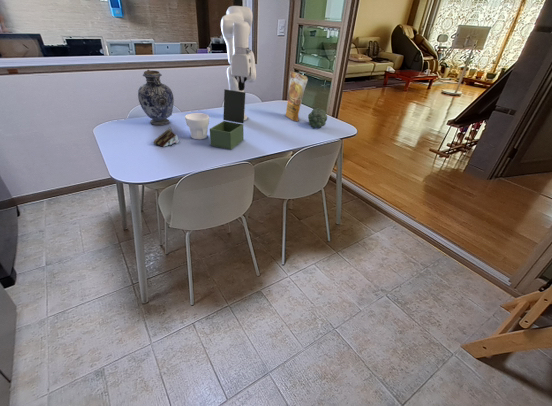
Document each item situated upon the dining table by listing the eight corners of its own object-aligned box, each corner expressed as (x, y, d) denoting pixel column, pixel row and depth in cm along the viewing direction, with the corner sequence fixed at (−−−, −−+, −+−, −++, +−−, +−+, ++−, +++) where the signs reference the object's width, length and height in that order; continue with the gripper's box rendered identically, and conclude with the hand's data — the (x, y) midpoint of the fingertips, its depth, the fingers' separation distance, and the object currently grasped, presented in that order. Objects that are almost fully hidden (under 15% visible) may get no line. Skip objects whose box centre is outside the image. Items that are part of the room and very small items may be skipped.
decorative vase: (181, 125, 168) (175, 74, 153) (148, 130, 159) (138, 76, 144) (170, 115, 183) (163, 67, 167) (139, 119, 173) (128, 68, 158)
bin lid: (244, 92, 144) (245, 92, 144) (224, 89, 147) (225, 89, 147) (243, 123, 150) (243, 123, 151) (223, 120, 153) (224, 119, 154)
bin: (231, 149, 144) (230, 133, 139) (210, 145, 147) (209, 128, 142) (243, 140, 156) (243, 124, 151) (224, 136, 159) (223, 120, 154)
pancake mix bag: (290, 113, 202) (294, 70, 187) (304, 121, 188) (309, 76, 173) (282, 114, 200) (285, 70, 184) (295, 122, 186) (299, 76, 170)
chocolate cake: (161, 150, 139) (176, 130, 140) (151, 143, 141) (166, 123, 141) (172, 156, 149) (186, 138, 149) (162, 149, 150) (176, 131, 151)
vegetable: (322, 118, 190) (334, 114, 176) (312, 134, 188) (323, 131, 174) (309, 106, 185) (320, 102, 171) (298, 123, 184) (308, 119, 170)
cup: (185, 133, 159) (183, 113, 152) (208, 131, 163) (206, 112, 157) (189, 141, 149) (186, 120, 143) (213, 139, 154) (211, 119, 148)
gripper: (257, 52, 143) (257, 90, 153) (230, 49, 147) (232, 87, 157) (251, 53, 137) (251, 93, 147) (223, 50, 141) (225, 89, 151)
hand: (241, 90), depth 152 cm, fingers closed
